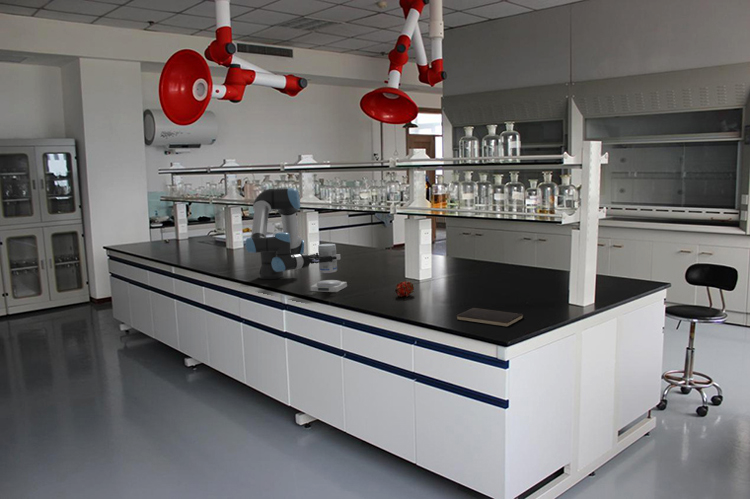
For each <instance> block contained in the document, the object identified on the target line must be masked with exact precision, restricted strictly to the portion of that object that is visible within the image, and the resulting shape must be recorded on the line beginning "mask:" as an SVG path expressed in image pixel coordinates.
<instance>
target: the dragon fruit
mask: <svg viewBox="0 0 750 499" xmlns="http://www.w3.org/2000/svg"><path fill="white" fill-rule="evenodd" d="M394 292H395V293H396V295H397V298H398V297H401V298H403V297H407V298H408V297H410V296H411V294H413V293H414V292H415V287H414V284H413V283H412V281H407V280H404V281H400V282H399V283H397V284H396V286H395V289H394Z"/></svg>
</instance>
